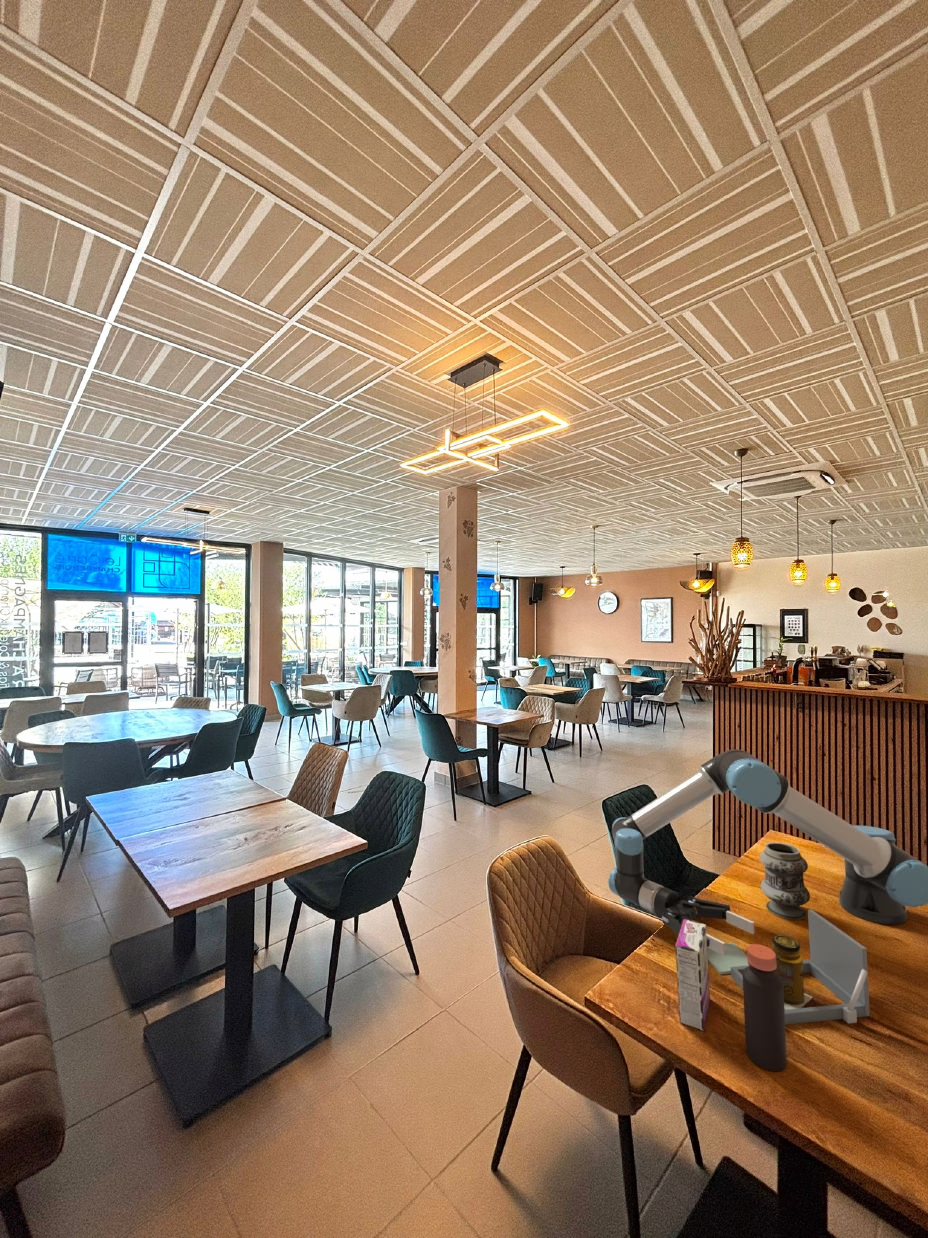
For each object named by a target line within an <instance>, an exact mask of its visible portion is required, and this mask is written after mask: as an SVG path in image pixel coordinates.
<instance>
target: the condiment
mask: <svg viewBox="0 0 928 1238" xmlns="http://www.w3.org/2000/svg"><path fill="white" fill-rule="evenodd" d="M771 941H772V944H771V948H770V949H771V950H773V951H774V953H775V954H776V965H777V967H776V972H775V973H776V974H777V975H778V976H779V977H780V979H781V980H782V983H783V991H784V1010H789V1009H799V1008H804V1006H806V1005H807V1003H809V1002H810V1001H811V1000H812V998H813V996H812V995H809V994H807V993H805V985H804V984H805V983H804V973H803V956H802V954H801V946H800V943H799V941H797V940H796V939H794V938H793V937H790V936H789V935H785V934H777V935H774V936H773V937H772V939H771Z"/></svg>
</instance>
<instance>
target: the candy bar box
mask: <svg viewBox="0 0 928 1238" xmlns="http://www.w3.org/2000/svg"><path fill="white" fill-rule="evenodd" d="M706 934H707V924H704V923H701V922H697V921H693V920H691V921H690V920H685V919H684V920H683V923H682V927H681V930H680V933H679V936H677V939H676V943H675V958H676V961H675V962H676V973H677V974H676V977H677V991H678V996H677V997H678V1013H679V1016H678V1017H679V1023H680V1024H682V1023H683V1024H682V1025H684V1024H685V1025H684V1026H687V1025H689V1026H688V1027H690V1026H692V1027H691V1028H693V1027H694V1028H693V1029H696V1028H697V1029H696V1030H698V1029H700V1030H699V1031H701V1030H702V1031H701V1032H704V1031H705V1026H706V1022H707V1020H706V1019H707V1015H708V1011H709V1006H710V1001H711V993H710V992H711V991H710V977H709V975H710V974H709V973H710V972H709V961H708V955H707V937H706Z"/></svg>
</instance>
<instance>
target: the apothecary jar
mask: <svg viewBox="0 0 928 1238" xmlns="http://www.w3.org/2000/svg"><path fill="white" fill-rule="evenodd" d="M759 860H760V862H761V864H762V865H763V866H764V872H765V873H764V876H765V877H764V879H763V880H762V881H761V882H760V890H761V891H762V893H763V894H764V895H765V897H766V898H768V899H769V901H768V902H767V903H766V905H765V907H766V909H767V911H768V912H770V913H771V914H772V915H774V916H777V917H779V918H782V919H785V920H789V921H790V920H791V921H800V920H801V921H802V920H803V919H804V920H805V919H806V917H808V912H806V910H805V909H804V908H803V907H801V906H804V905H805V904H807V903H808V902H809V901H810V900H811V894H810V891H809V889H808V888H807V887H806V886H805V882H804V881H805V880H804V873H806V872H807V870H808V866H809V865H808V862H807V860H806V859H805V858H804V857H803V856H802V855H801V851H800V849H799V848H798V847H797V846H795V845H791V844H788V843H785V842H778V841H777V842H776V841H775V842H768V843H766V844H765V849H763V850H762V852H761V853H760V854H759Z"/></svg>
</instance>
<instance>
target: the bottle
mask: <svg viewBox="0 0 928 1238" xmlns="http://www.w3.org/2000/svg"><path fill="white" fill-rule="evenodd" d="M771 949H772V948H769V947H768V946H765V945H763V944H758V943H753V944H748V945H747V946H746V955H747V961H748V964H749V966H748V967H746V968H745V969H744V971H743V973H742V975H743V989H742V993H743V995H742V997H743V1012H744V1013H743V1015H744V1016H743V1018H744V1034H745V1035H744V1039H745V1052H746V1054H747V1057H748V1058H749V1059H750V1060H751V1061H752V1063H754V1064H756V1066H758V1067H760V1068H762V1069H763V1070H766V1071H769V1072H779V1071H783V1070H784V1069H785V1068H786V1067H787V1063H788V1061H787V1060H788V1059H787V1058H788V1057H787V1038H786V1034H787V1033H786V1025H785V1012H784V1010H785V1009H784V991H783V983H782V980H781V979H780V977H779V976H778V975H777V974H776V973H775V972H776V967H777V965H776V954H775V953H774V951H773V950H771Z"/></svg>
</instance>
